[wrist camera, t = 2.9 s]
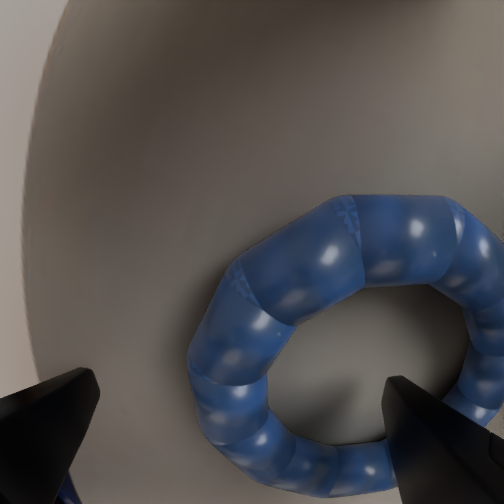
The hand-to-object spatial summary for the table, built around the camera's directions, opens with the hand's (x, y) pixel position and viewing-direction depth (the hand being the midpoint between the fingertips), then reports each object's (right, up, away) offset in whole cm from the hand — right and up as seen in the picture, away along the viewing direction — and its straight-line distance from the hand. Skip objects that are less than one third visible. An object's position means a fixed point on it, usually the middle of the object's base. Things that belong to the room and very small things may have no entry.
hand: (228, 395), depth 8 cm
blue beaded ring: (+4, 0, 0) cm, 4 cm away
